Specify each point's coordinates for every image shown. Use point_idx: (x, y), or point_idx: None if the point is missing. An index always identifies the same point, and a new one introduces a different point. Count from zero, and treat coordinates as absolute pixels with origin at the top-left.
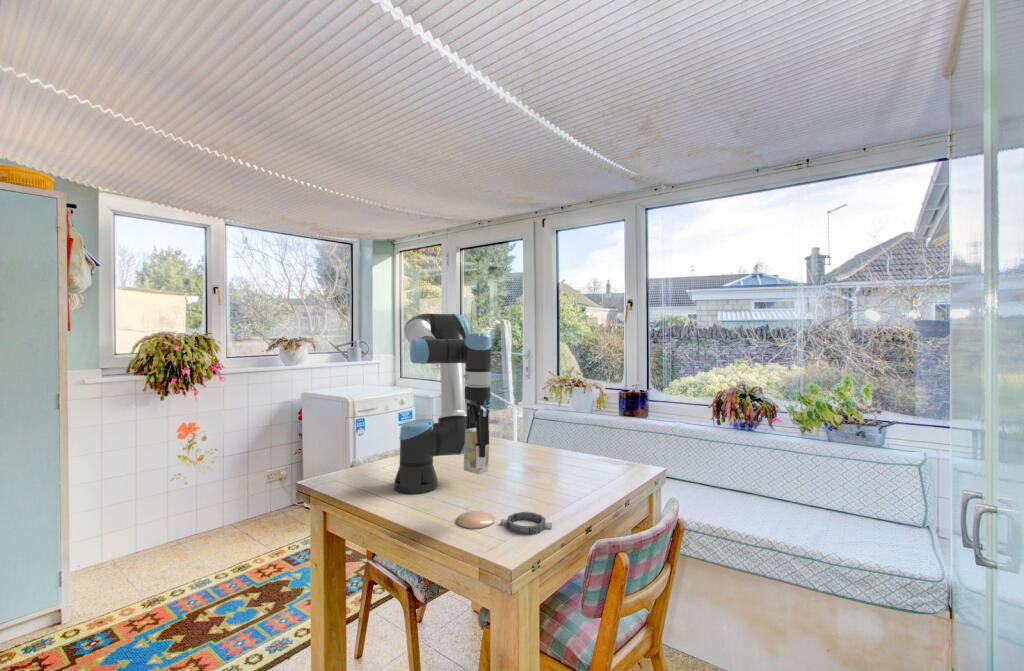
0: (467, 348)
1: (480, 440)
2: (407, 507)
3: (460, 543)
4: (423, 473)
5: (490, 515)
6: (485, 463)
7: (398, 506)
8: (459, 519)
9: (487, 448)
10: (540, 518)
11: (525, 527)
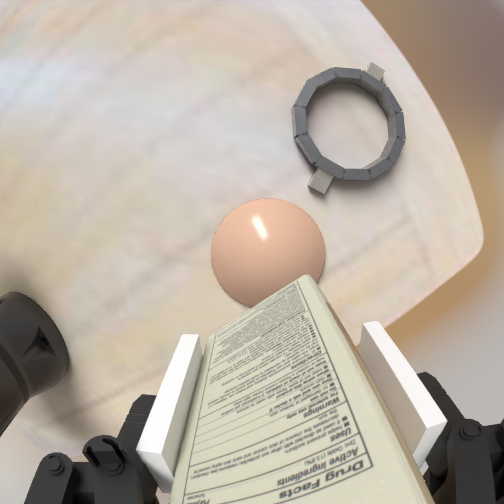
0: None
1: (495, 478)
2: (141, 385)
3: (378, 317)
4: (28, 356)
5: (258, 206)
6: (386, 336)
7: (135, 398)
8: (260, 301)
9: (365, 370)
10: (349, 78)
11: (401, 149)
